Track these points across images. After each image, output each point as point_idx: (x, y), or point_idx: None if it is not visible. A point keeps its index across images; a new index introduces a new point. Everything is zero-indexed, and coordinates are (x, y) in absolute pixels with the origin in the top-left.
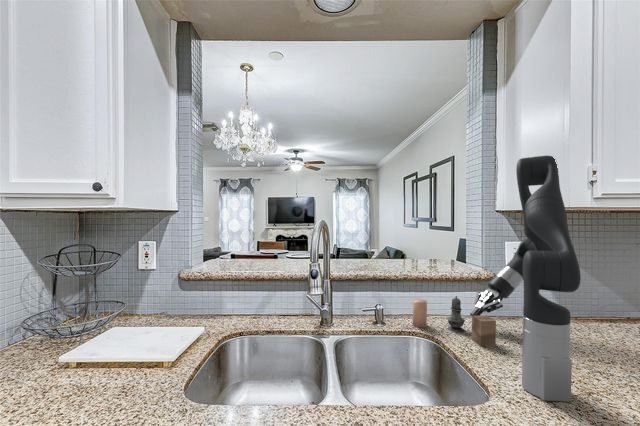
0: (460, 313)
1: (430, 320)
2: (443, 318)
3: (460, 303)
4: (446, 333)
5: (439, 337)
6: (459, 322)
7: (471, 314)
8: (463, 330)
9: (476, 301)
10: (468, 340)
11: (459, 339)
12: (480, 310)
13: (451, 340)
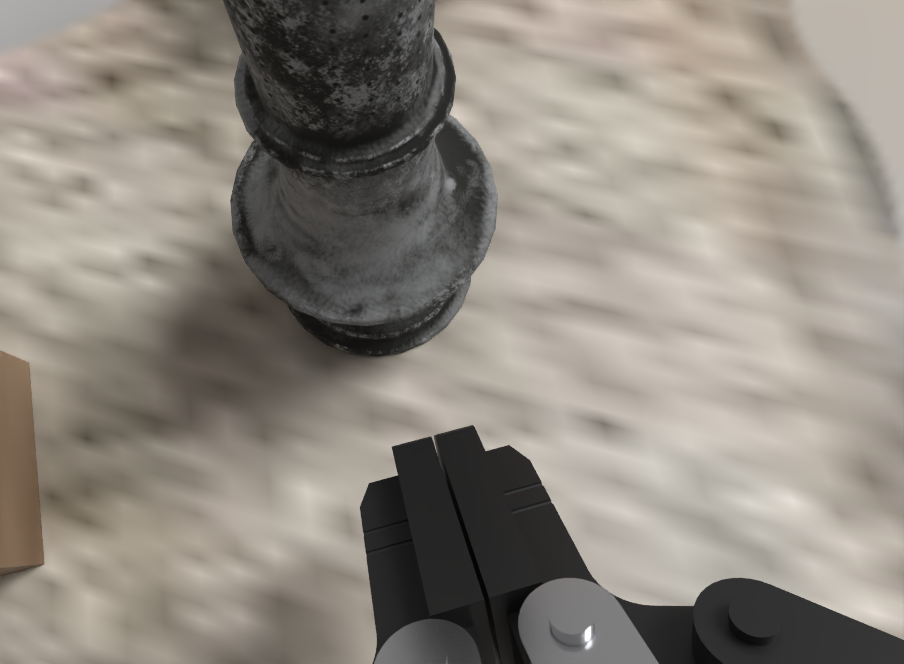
0: (309, 193)
1: (633, 54)
2: (760, 208)
3: (283, 50)
4: (226, 132)
5: (102, 42)
6: (233, 217)
7: (419, 439)
8: (326, 340)
9: (777, 656)
10: (11, 319)
11: (44, 225)
12: (377, 643)
13: (16, 136)
